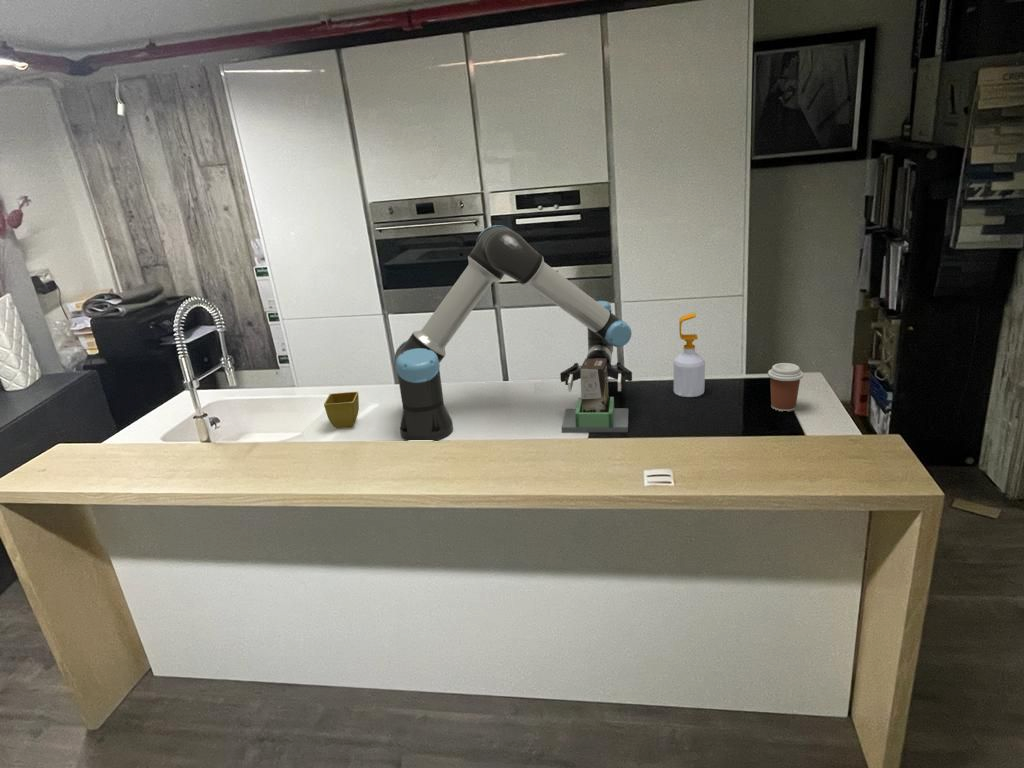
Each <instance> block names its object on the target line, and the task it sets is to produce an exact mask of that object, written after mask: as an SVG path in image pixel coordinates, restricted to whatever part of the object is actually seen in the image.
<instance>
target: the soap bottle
mask: <svg viewBox="0 0 1024 768" xmlns="http://www.w3.org/2000/svg"><path fill="white" fill-rule="evenodd" d="M694 318H696V312H691V313H688V314H684V315H682V316H681V317H680V318H679V327H678V328H679V329H678V330H679V338H680V339H681V340H683V341H684V342H686V344H684V345H683V352H682V353H680V354H678V355H677V356H676V357H675V358H674V360H673V393H674V394H675V395H677V396H679V397H683V398H694V397H700V396H702V395H704V393H705V387H706V386H705V379H706V377H705V376H706V375H705V374H706V362H705V361H706V360H705V359H704V358H703V356H702V355H700V354H698V353H696V345H695V344H693V342H695V340H698V337H699V336H698V334H694V333H693V334H690V333H689V334H683V333H682V324H683V322H685V321H688V320H691V319H694Z"/></svg>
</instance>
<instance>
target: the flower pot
mask: <svg viewBox="0 0 1024 768" xmlns="http://www.w3.org/2000/svg"><path fill="white" fill-rule="evenodd" d="M359 400H360V399H359V391H346V392H337V393H336V392H335V393H329V395H328V396H327V398H326V400H325V401H324V403H323V407H324V409H325V413H326V415H327V419H328V421H329V422H330V424H331V425H332V426H333V427H334V428H335V429H347V428H353V427H354V425H355V423H356V421H357V418H358V415H359V410H360V409H359V406H360V403H359V402H360V401H359Z"/></svg>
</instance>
